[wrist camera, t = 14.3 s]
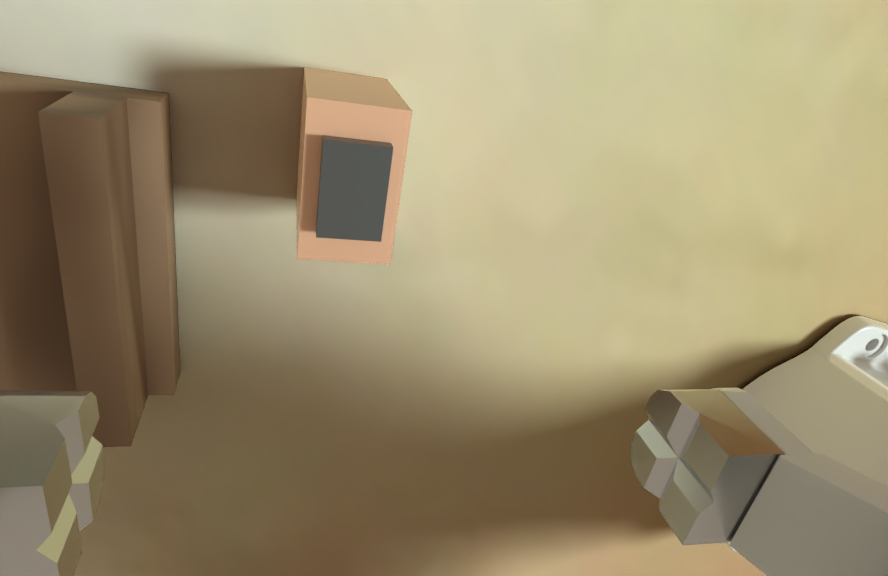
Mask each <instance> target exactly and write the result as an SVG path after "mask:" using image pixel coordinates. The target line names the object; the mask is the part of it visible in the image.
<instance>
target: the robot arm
mask: <svg viewBox="0 0 888 576" xmlns="http://www.w3.org/2000/svg"><path fill="white" fill-rule="evenodd" d="M645 411H646V414H647V417H648V419H649V420H648V421H647V422H645V423H644V424H643V425H642V426H641V427H640V428H639V429H638V430H636V433H635V435H634V438H633V441H632V444H631V464H632V467H633V470H634V472H635V475H636V477H637V479H638V480H639V482H640V483H641V485H642V486H643V488H644V489H646V490H647V491H649V492H650V493H652V494H653V495H655V496H656V497H658V498H659V511H660V513H661V514H662V516H663V517H664V519H665V520H666V522H667V523H668V524H669V526H670V527H671V529H672V530H673V532H674V533H675V535H676V536H677V538H678V539H679V540H680V542H681V543H682V545H695V544H711V543H726V544H727V545H728V547H729V548H730V549H731V550H733V551H737V552H738V553H739V554H741V555H742V556H743V557H745V558H746V559H747V560H748V561H750V562H751V563H752V564H753V565H755V566H756V567H757V568H758V569H759V571H760V572H761V573H762V574H763V575H764V576H888V324H887V323H883V322H880V321H877V320H873V319H870V318H867V317H863V316H854V317H851V318H849V319H847V320H845V321H843V322H842V323H840V324H839V325H837V326H836V327H835V328H834V329H832V330H831V331H830V332H829V333H827V334H826V335H825V336H824V337H823V338H822V339H820V340H819V341H818V342H817V343H816V344H815V345H814V346H812V347H811V348H810V349H809V350H807V351H805V352H804V353H802V354H800V355H799V356H797V357H795V358H793V359H791V360H789V361H787V362H785V363H783V364H781V365H779V366H777V367H775V368H773V369H771V370H770V371H768V372H766V373H765V374H763V375H761V376H760V377H758V378H757V379H755V380H754V381H753V382H751V383H750V384H749V385H747V386H746V387H745V388H743V389H739V388H737V387H736V388H711V389H685V390H657V391H656V392H655V393H654V394H653V395H652V396H651V397H650V399H649V401H648V404H647V406H646V408H645ZM99 418H100V417H99V411H98V405H97V398H96V396H95V395H94V394H93V393H92V392H91V391H29V390H0V576H74V574H75V571H76V568H77V565H78V562H79V560H80V557H81V554H82V547H81V540H80V533H79V532H80V531H81V530H83V529H84V528H85V527H86V526H87V525H89V524H90V523H91V522H92V521H93V520H94V517H95V514H96V510H97V507H98V504H99V501H100V496H101V490H102V484H103V479H104V454H103V445H102V444H101V443H100V442H99V441H97V440H96V439H95V438H94V437H93V436H92V435H93V433H94V430H95V428H96V425H97V423H98V420H99Z"/></svg>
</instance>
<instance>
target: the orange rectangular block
mask: <svg viewBox="0 0 888 576" xmlns="http://www.w3.org/2000/svg"><path fill="white" fill-rule="evenodd" d="M411 116H412V110H411V109H410V108H409V106H408V105H407V104H406V103H405V101H404V100H403V99H402V98H401V96H400V95H399V94H398V93H397V91H396V90H395V89H394V88H393V86H392V85H391V84H390V83H389V81H388V80H387V79H382V78H375V77H368V76H361V75H354V74H347V73H340V72H334V71H327V70H320V69H313V68H306V67H304V78H303V95H302V112H301V130H300V147H299V164H298V182H297V199H296V200H297V259H306V260H324V261H342V262H359V263H377V264H391V258H392V250H393V243H394V236H395V229H396V222H397V215H398V208H399V201H400V194H401V187H402V180H403V173H404V166H405V159H406V151H407V144H408V137H409V130H410V123H411Z"/></svg>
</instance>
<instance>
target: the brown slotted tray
mask: <svg viewBox="0 0 888 576" xmlns="http://www.w3.org/2000/svg"><path fill="white" fill-rule="evenodd" d="M179 376H180V353H179V329H178V304H177V280H176V255H175V231H174V206H173V181H172V157H171V132H170V108H169V93H164V92H156V91H148V90H140V89H132V88H124V87H116V86H108V85H100V84H93V83H85V82H77V81H69V80H61V79H53V78H45V77H37V76H29V75H21V74H13V73H6V72H0V390H29V391H91V392H92V393H93V394H94V395H95V396H96V398H97V405H98V411H99V417H100V418H99V420H98V423H97V425H96V428H95V430H94V433H93V435H92V436H93V437H94V438H95V439H96V440H97V441H99V442H100V443H101V444H102V445H103V447H115V446H131V444H132V441H133V438H134V435H135V432H136V429H137V426H138V423H139V420H140V417H141V414H142V411H143V408H144V405H145V402H146V399H147V396H148V395H174V394H175V391H176V387H177V383H178V380H179Z"/></svg>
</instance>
